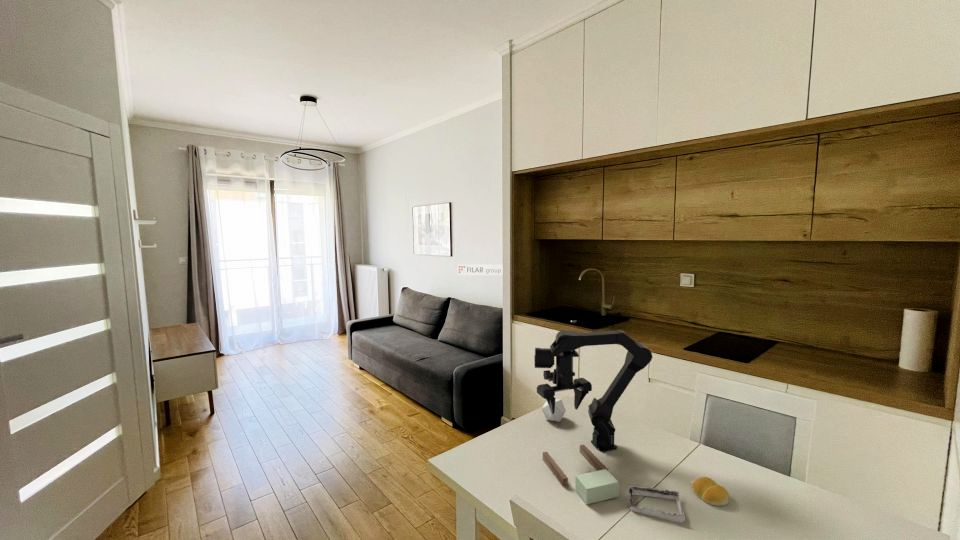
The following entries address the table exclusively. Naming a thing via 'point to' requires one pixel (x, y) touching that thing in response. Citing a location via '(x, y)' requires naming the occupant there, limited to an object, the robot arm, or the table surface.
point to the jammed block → (596, 486)
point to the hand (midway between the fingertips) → (564, 411)
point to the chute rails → (560, 474)
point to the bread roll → (710, 491)
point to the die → (558, 411)
